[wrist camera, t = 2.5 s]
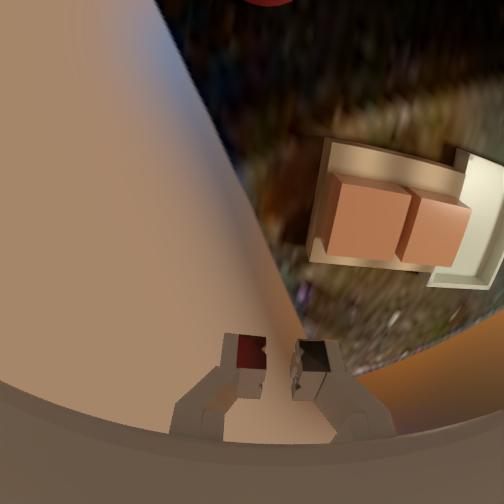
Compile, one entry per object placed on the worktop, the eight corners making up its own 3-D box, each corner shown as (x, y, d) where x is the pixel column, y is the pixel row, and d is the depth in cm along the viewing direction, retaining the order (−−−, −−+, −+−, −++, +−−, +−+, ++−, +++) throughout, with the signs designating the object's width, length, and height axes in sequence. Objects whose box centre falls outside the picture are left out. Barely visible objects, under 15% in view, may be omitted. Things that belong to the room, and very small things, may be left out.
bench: (450, 166, 26) (466, 174, 23) (421, 258, 31) (433, 272, 28) (324, 136, 25) (332, 142, 22) (305, 245, 30) (309, 261, 28)
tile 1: (397, 184, 24) (411, 195, 21) (380, 244, 27) (391, 261, 24) (333, 172, 24) (342, 183, 21) (320, 238, 27) (326, 255, 24)
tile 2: (455, 197, 24) (472, 209, 21) (437, 252, 27) (451, 267, 24) (406, 186, 24) (421, 197, 21) (389, 245, 27) (401, 262, 24)
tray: (517, 172, 25) (530, 179, 23) (479, 279, 32) (488, 289, 30) (456, 147, 24) (470, 153, 22) (417, 274, 32) (426, 286, 30)
